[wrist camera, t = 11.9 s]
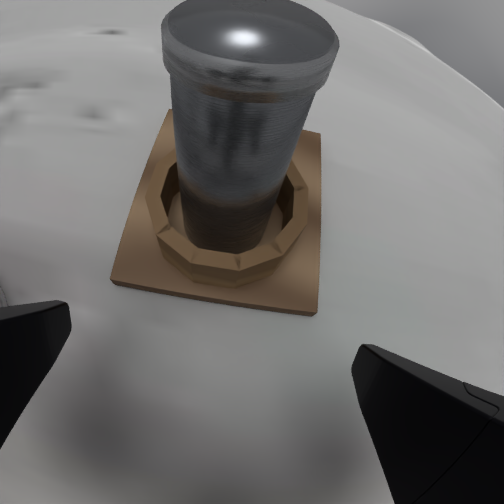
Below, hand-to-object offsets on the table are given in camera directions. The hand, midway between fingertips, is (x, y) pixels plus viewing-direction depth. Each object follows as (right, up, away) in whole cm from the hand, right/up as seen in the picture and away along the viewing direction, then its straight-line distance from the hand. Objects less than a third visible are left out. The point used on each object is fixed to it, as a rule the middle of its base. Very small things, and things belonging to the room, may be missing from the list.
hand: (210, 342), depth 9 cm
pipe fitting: (0, +6, +11) cm, 12 cm away
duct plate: (0, +6, +12) cm, 14 cm away
